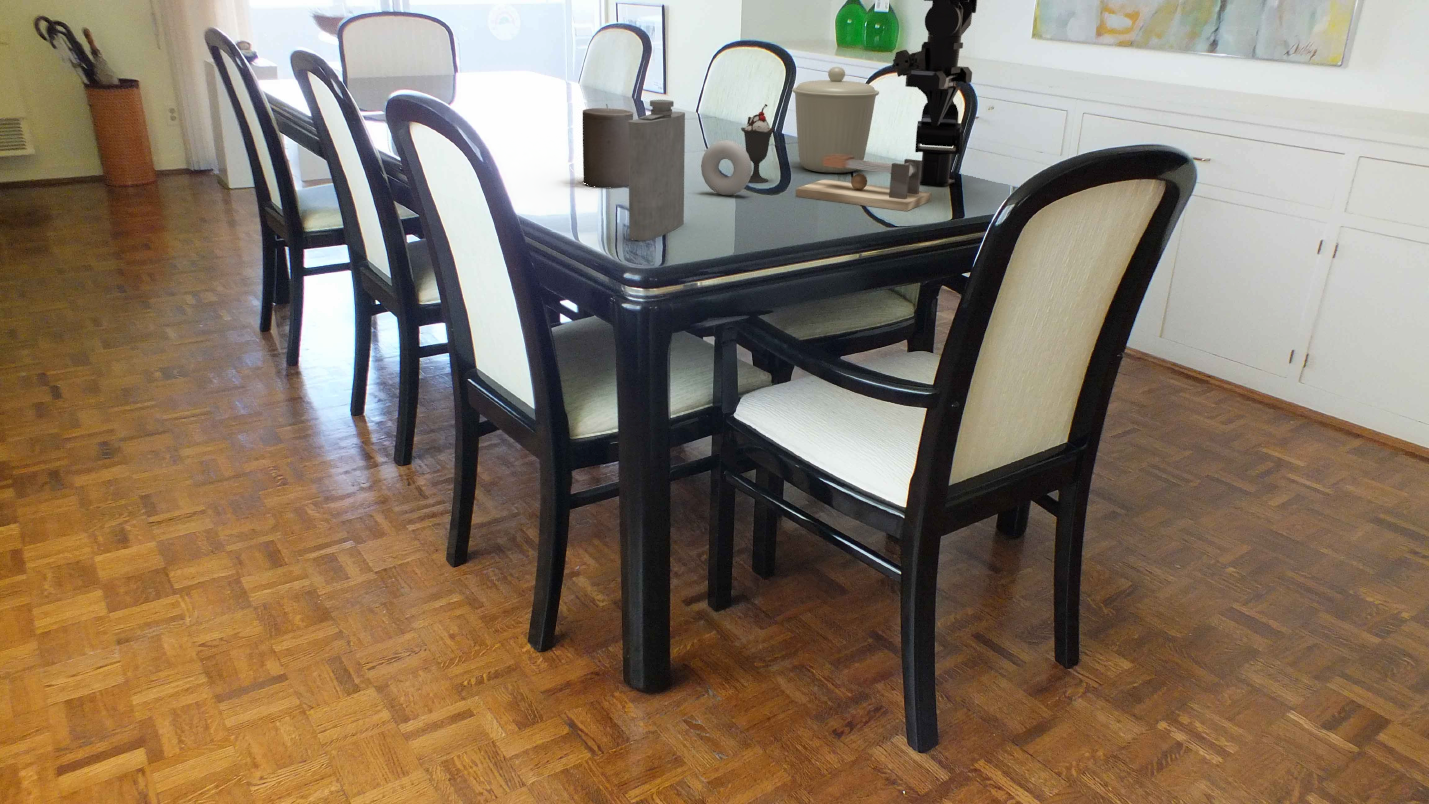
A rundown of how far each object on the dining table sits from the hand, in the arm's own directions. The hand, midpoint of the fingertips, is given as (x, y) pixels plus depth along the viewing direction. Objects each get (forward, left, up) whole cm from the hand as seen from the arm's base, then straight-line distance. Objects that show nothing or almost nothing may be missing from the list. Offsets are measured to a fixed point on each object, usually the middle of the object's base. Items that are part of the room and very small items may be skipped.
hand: (935, 125), depth 191 cm
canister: (-16, -28, -13) cm, 35 cm away
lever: (+10, -8, -8) cm, 15 cm away
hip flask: (+55, -24, -13) cm, 61 cm away
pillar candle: (+27, -55, -13) cm, 63 cm away
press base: (+10, -9, -13) cm, 19 cm away
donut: (+23, -31, -13) cm, 41 cm away
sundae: (+6, -34, -13) cm, 37 cm away
